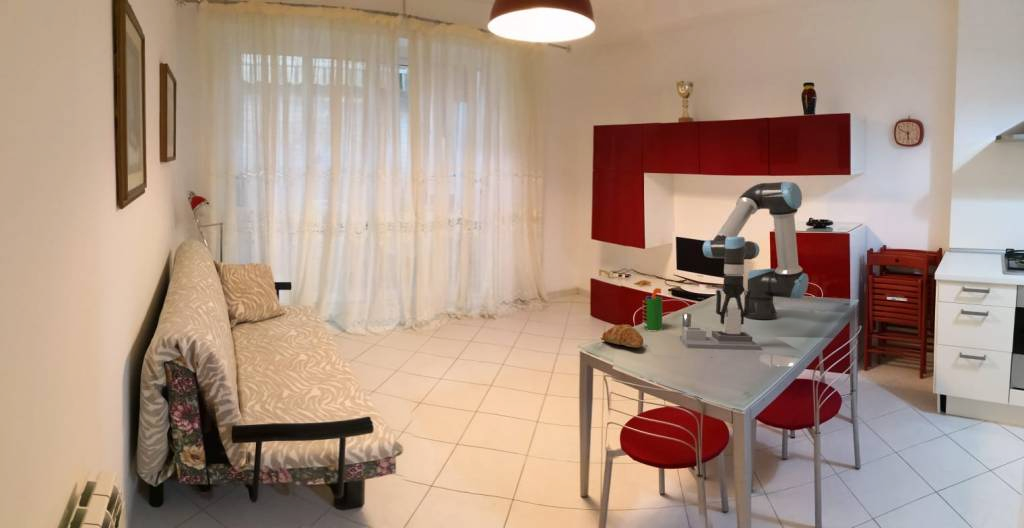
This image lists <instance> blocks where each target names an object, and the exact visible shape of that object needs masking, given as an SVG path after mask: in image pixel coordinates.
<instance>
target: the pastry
mask: <svg viewBox="0 0 1024 528" xmlns="http://www.w3.org/2000/svg"><path fill="white" fill-rule="evenodd" d="M600 340H601V341H603V340H604V341H603V342H607V343H611V344H614V345H619V346H620V345H621V346H624V347H629V348H641V347H643V345H644V338H643V336H642V335H641V334H640V332H639V331H638V330H637V329H636V328H634V327H633V326H632V325H631V324H620V325H615V326H613V327H611V328H609V329H608V330H607V331H605V332H603V333H602V337H600Z"/></svg>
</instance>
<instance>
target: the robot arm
mask: <svg viewBox="0 0 1024 528" xmlns="http://www.w3.org/2000/svg"><path fill="white" fill-rule="evenodd" d="M802 201H803V195H802V190H801V187H800V186H799V185H798V184H797V183H796V182H792V181H791V182H790V181H789V182H787V181H781V182H780V181H779V182H762V183H758V184H755V185H753V186H751V187H749V188H748V189H746V190H744V192H743V193H742V194H741V195H740V196H739V197H738V199H737V200H736V203H735V204H736V205H735V207H734V209H733V211H732V212H731V213H730V215H729V216H728V217H727V219H726V221H725V222H724V224H723V225H722V227H721V228H720V229H719V230H718V232H717V234H716V236H715V237H714V238H713V239H709V240H705V241H704V242H703V244H702V252H703V256H704V257H706V258H710V259H724V262H723V263H724V264H723V265H724V266H723V274H724V275H723V285H722V288H720V289H716V290H715V294H716V307H715V314H717V315H719V316H720V321H719V322H720V324H721V325H722V331H723V332H724V333H726V321H727V317H726V316H725V313H726V310H727V307H729V304H730V300H731V299H735V300H736V305H737V308H739V309H741V320H740V333H741V332H742V325H744V320H745V318H748V319H757V320H774V319H775V320H776V319H777V313H778V312H777V311H776V306H775V304H774V303H775V302H774V298H775V297H776V298H784V299H785V298H786V299H802V298H803V297H804V296H805V294H806V292H807V290H808V287H809V276H808V274H807V273H804V271H803V267H801V266H800V265H799V257H798V245H797V234H796V233H797V232H796V230H797V229H796V222H795V221H796V220H795V215H796V214H797V213H798V211H799V210H798V209H800V208H801V206H802V204H803V202H802ZM762 209H763V210H764V209H765V210H768V211H769V212H768V213H769V215H770V216H771V217H773V226H774V236H775V246H776V247H775V248H776V259H777V267H776V268H764V269H752V270H749V271H748V272H747V279H746V280H747V288H746V289H745V287H744V279H745V278H744V273H745V261H746V260H748V261H750V260H751V261H752V260H753V259H756V258H757V257H758V256H759V255H760V247H759V245H758V243H757V242H754V241H751V240H747V241H746V238H745V237H743V236H739V234H740V233H741V232H742V230H743V228H744V227H745V225H747V224H746V223H747V222H748V221H749V220H750V218H751V216H752V215H754V214H756V213H757V211H759V210H762ZM723 293H724V295H725V297H724V301H723V304H722V302H721V301H722V294H723ZM741 295H744V303H743V304H744V306H743V305H742V298H741ZM721 305H722V306H721Z"/></svg>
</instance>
